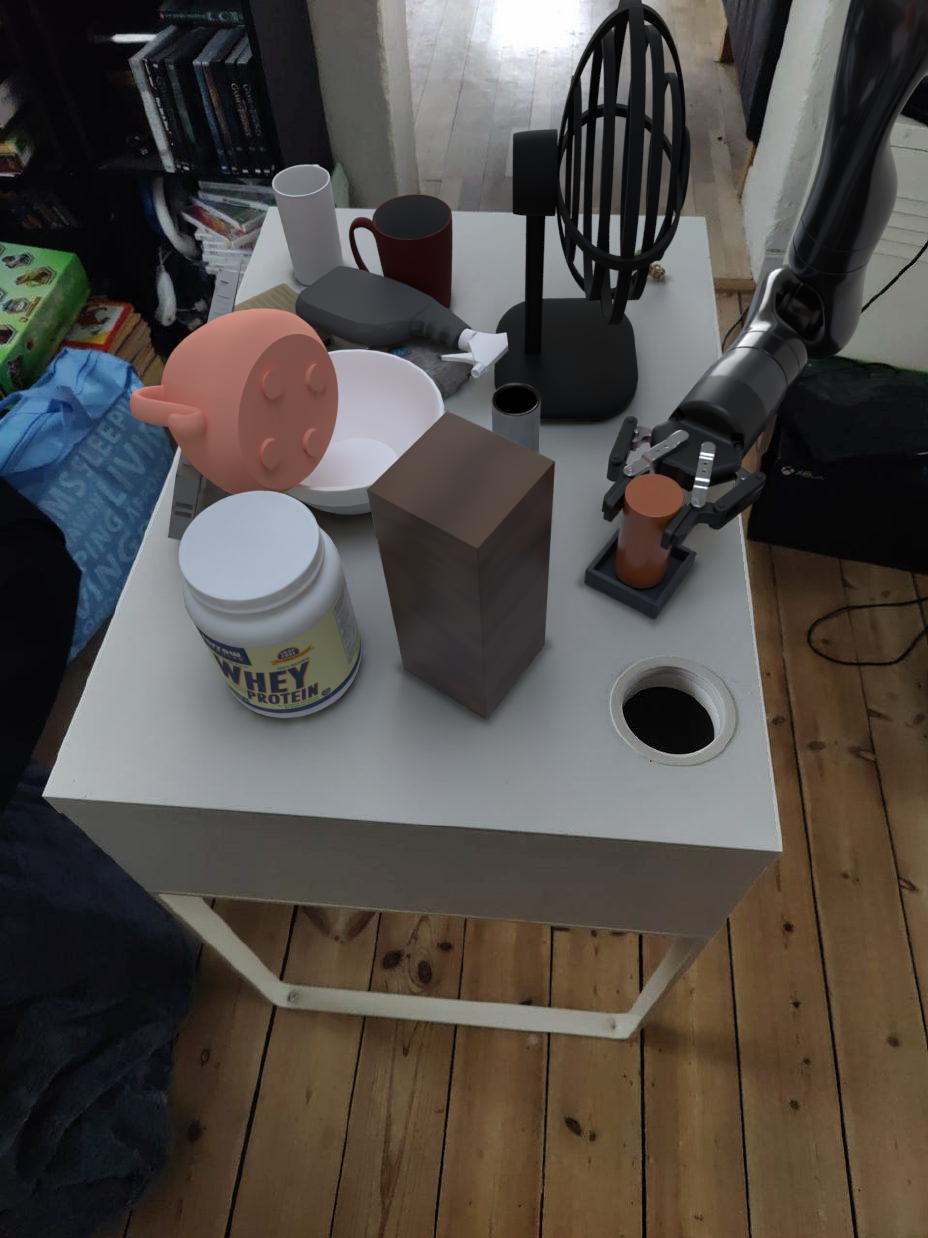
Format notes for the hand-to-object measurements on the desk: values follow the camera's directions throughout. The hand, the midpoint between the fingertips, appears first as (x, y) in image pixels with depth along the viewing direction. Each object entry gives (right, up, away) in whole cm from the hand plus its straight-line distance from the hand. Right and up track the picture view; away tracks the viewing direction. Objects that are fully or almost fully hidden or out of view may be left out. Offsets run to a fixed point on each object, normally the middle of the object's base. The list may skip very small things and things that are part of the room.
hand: (636, 527), depth 71 cm
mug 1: (-32, +38, +39) cm, 63 cm away
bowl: (-26, +7, +17) cm, 32 cm away
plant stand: (-13, -11, +5) cm, 18 cm away
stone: (-24, +23, +26) cm, 42 cm away
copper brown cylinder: (+2, -3, +8) cm, 9 cm away
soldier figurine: (+6, +36, +31) cm, 48 cm away
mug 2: (-21, +31, +33) cm, 50 cm away
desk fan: (-2, +21, +25) cm, 33 cm away
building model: (-39, +13, +13) cm, 43 cm away
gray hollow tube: (-9, +7, +17) cm, 20 cm away
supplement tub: (-29, -12, +5) cm, 32 cm away
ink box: (-32, +29, +30) cm, 53 cm away
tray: (+2, -3, +9) cm, 10 cm away
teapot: (-27, +9, 0) cm, 29 cm away
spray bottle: (-31, +30, +27) cm, 51 cm away
